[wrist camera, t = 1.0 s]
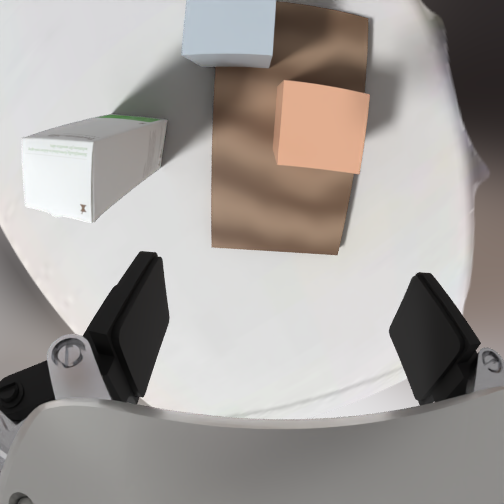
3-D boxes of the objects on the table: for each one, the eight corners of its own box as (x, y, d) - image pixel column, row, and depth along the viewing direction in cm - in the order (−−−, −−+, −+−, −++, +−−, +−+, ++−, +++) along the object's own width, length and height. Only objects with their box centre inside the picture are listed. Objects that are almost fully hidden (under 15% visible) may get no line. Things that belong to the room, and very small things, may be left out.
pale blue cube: (205, 11, 20) (188, -16, 13) (272, 12, 20) (277, -16, 14) (201, 67, 24) (181, 55, 17) (268, 68, 24) (272, 55, 17)
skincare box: (169, 119, 28) (99, 138, 15) (161, 172, 31) (96, 228, 18) (108, 113, 27) (19, 134, 14) (102, 163, 31) (22, 210, 17)
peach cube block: (277, 86, 25) (284, 79, 18) (342, 95, 25) (369, 94, 18) (272, 149, 28) (277, 164, 22) (335, 156, 29) (359, 174, 22)
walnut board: (222, 4, 21) (220, -1, 20) (363, 21, 21) (368, 18, 20) (213, 241, 36) (211, 247, 35) (334, 249, 36) (337, 255, 35)
